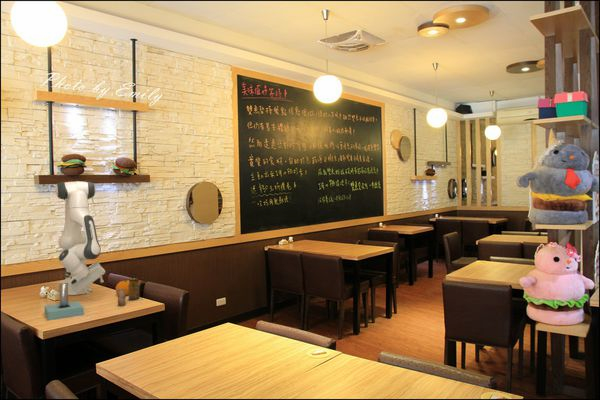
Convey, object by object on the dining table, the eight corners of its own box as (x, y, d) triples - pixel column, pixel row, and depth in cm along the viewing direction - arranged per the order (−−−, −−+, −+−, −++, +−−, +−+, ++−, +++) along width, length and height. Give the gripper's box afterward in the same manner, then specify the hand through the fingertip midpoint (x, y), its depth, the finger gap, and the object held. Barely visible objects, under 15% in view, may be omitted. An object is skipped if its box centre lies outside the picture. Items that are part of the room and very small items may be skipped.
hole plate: (44, 313, 233) (44, 305, 233) (78, 308, 243) (77, 301, 243) (48, 320, 220) (48, 312, 220) (83, 314, 230) (83, 307, 230)
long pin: (59, 313, 232) (58, 283, 232) (67, 312, 234) (67, 282, 234) (60, 315, 229) (59, 285, 228) (68, 314, 231) (68, 284, 231)
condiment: (137, 296, 269) (137, 277, 269) (142, 299, 262) (142, 279, 262) (125, 298, 264) (125, 278, 264) (130, 301, 258) (130, 281, 258)
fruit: (111, 296, 271) (111, 279, 271) (124, 291, 282) (124, 276, 282) (126, 297, 267) (126, 281, 267) (139, 293, 279) (139, 277, 278)
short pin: (117, 305, 249) (116, 289, 249) (124, 304, 251) (124, 288, 251) (118, 306, 246) (118, 290, 246) (126, 305, 248) (126, 289, 248)
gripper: (95, 258, 265) (109, 273, 273) (64, 281, 258) (80, 295, 266) (97, 262, 260) (112, 277, 268) (66, 286, 254) (82, 300, 261)
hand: (95, 287), depth 267 cm, fingers open, 8 cm apart
